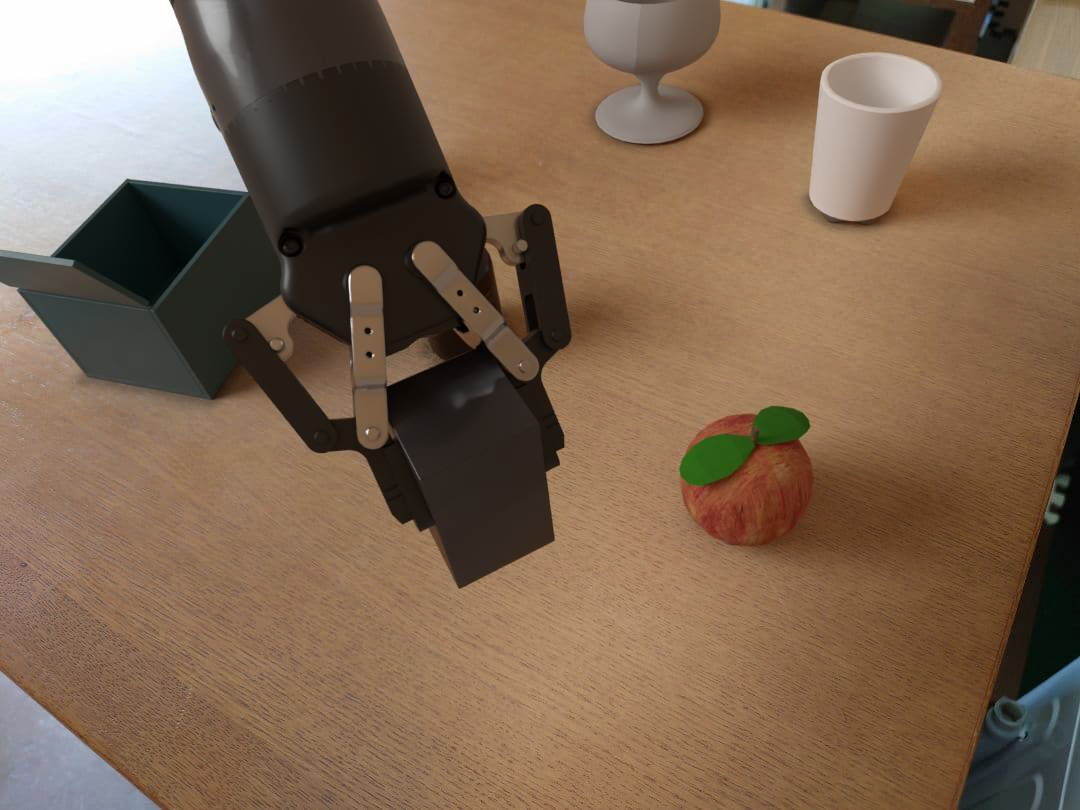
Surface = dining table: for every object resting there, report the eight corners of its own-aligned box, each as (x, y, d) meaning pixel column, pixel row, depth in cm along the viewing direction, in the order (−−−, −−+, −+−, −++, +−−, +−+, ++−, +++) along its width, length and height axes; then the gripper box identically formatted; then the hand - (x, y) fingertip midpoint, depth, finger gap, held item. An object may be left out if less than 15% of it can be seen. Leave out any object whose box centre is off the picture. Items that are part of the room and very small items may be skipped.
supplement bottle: (491, 302, 71) (471, 192, 62) (516, 352, 67) (498, 242, 58) (420, 325, 70) (388, 217, 61) (440, 377, 66) (410, 269, 57)
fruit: (829, 541, 53) (864, 457, 46) (703, 589, 52) (717, 511, 44) (765, 447, 59) (786, 358, 51) (649, 488, 57) (652, 403, 49)
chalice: (695, 159, 82) (707, 15, 71) (571, 143, 86) (562, 4, 75) (723, 91, 90) (737, -48, 79) (607, 79, 94) (605, -55, 83)
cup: (906, 240, 72) (950, 113, 62) (795, 233, 74) (821, 109, 64) (897, 176, 78) (937, 51, 68) (795, 171, 80) (819, 50, 70)
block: (459, 590, 35) (419, 480, 28) (418, 508, 38) (373, 391, 31) (555, 541, 36) (540, 424, 29) (509, 465, 39) (484, 343, 32)
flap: (150, 301, 58) (147, 308, 58) (11, 280, 61) (9, 286, 61) (75, 259, 51) (72, 266, 51) (-77, 238, 54) (-80, 245, 54)
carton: (211, 399, 66) (154, 311, 58) (87, 377, 70) (15, 290, 61) (292, 282, 75) (251, 192, 67) (178, 267, 78) (126, 178, 70)
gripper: (100, 129, 25) (325, 600, 27) (503, 2, 28) (673, 429, 30) (150, 187, 32) (324, 554, 34) (466, 81, 35) (605, 421, 38)
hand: (487, 493), depth 32 cm, fingers closed on block, 5 cm apart
